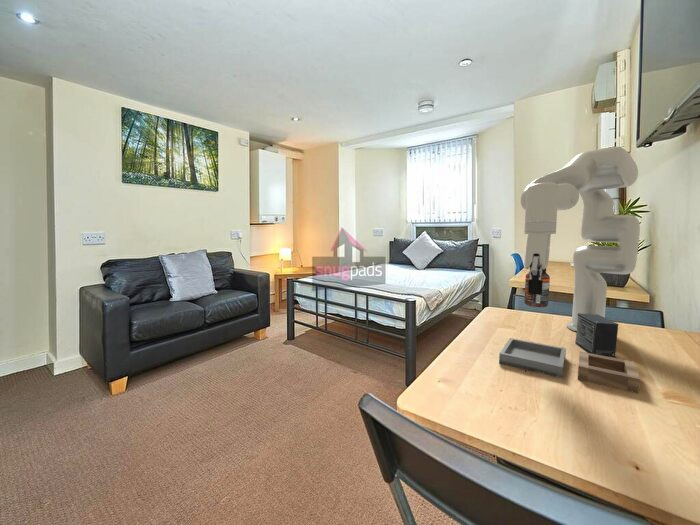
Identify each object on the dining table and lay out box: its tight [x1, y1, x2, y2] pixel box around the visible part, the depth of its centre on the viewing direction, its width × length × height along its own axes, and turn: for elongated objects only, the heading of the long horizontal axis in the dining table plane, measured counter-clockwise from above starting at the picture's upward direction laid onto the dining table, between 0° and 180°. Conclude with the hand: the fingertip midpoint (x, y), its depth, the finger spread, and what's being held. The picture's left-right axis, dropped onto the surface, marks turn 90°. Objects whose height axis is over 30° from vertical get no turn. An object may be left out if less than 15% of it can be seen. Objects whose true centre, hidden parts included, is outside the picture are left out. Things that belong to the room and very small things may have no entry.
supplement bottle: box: [523, 266, 551, 308], centre depth 87 cm, size 6×6×11 cm
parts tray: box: [498, 337, 567, 379], centre depth 89 cm, size 15×15×3 cm
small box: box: [574, 313, 619, 358], centre depth 96 cm, size 11×6×10 cm, turn 168°
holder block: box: [577, 351, 641, 394], centre depth 79 cm, size 12×12×4 cm
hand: (536, 291), depth 87 cm, fingers closed on supplement bottle, 6 cm apart
